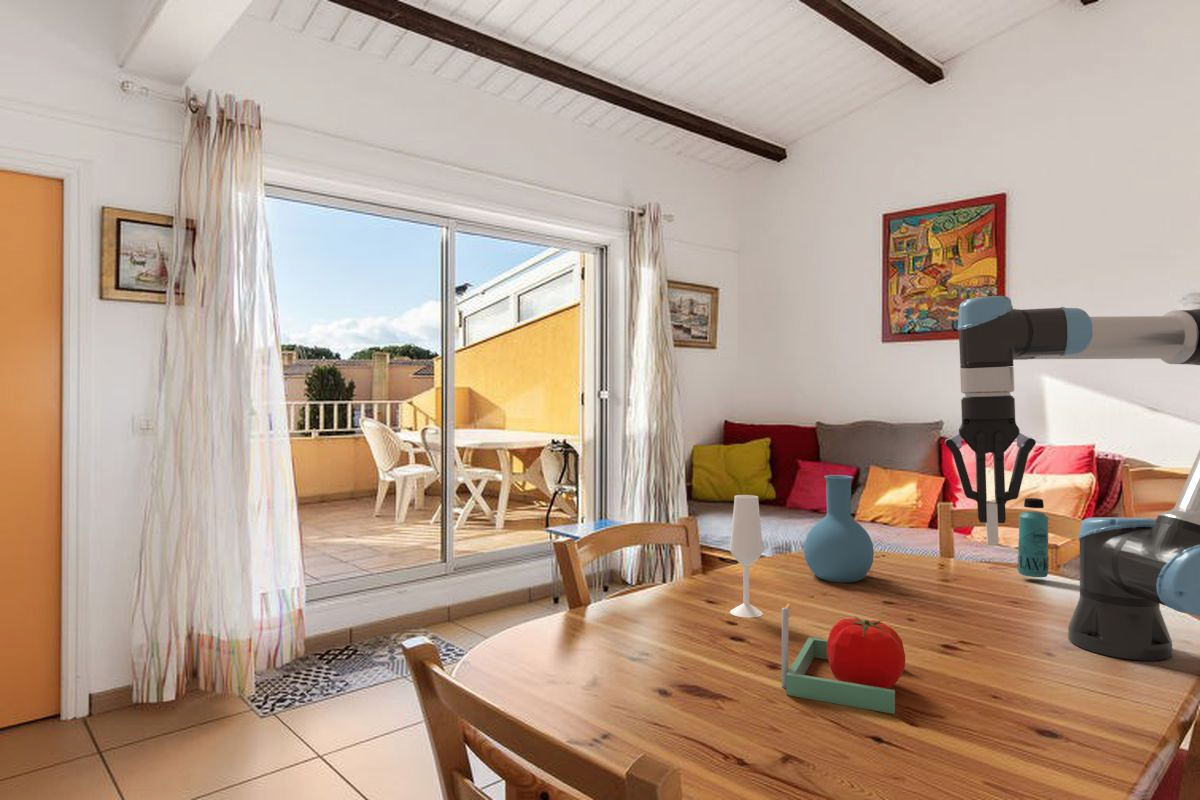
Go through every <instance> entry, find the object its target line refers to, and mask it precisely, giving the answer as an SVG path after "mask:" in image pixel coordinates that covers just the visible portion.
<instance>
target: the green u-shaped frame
mask: <svg viewBox="0 0 1200 800" xmlns="http://www.w3.org/2000/svg"><path fill="white" fill-rule="evenodd" d="M790 617H791V603H789V602H788V603H787V604H786V605H785V606H784V607H782V608H781V688H784V689H786V690H785V691H786V692H785V694H786V696H791V697H796V698H797V697H798V698H802V699H808V700H813V701H814V700H815V701H820V702H824V703H830V704H832V703H833V704H837V705H842V706H848V707H853V708H858V709H865V710H871V711H875V712H876V711H877V712H882V713H887V714H892V715H895V713H896V690H895V689H891V688H889V689H886V688H880V687H874V686H867V685H861V684H855V683H849V682H843V681H838V680H837V679H836V680H835V679H829V678H823V677H819V676H813V675H812V676H810V675H806V673H807V671H808V669H809V667H810V665H811V664H812V662H813V659H814V658H817V659H822V660H823V659H824V660H828V657H827V641H828V639H825V638H817V637H809V636H808V638H807V640H806V641H805V643H804V645H803V646H802V648H801V650H800V652H799V653H798V655H797V656H796V658H795V660H794V661H793V663H792V664H791V666H790V668H789V633H790V631H789V621H790V620H789V618H790Z"/></svg>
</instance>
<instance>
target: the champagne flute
mask: <svg viewBox="0 0 1200 800" xmlns="http://www.w3.org/2000/svg"><path fill="white" fill-rule="evenodd" d="M733 500H734V501H733V502H734V503H733V512H732V523H731V532H730V534H731V535H730V543H729V551H730V553H731V555H732V557H733V558H734V559H735V560H736V561H737V563H739V564H740V565H741V566H743V567H742V570H743V571H742V572H743V573H742V574H743V582H742V583H743V588H742V589H743V591H742V592H743V595H742V596H743V597H742V598H743V601H742V602H743V603H741V604H740V605H738V606H736V607H733V608H732V609H731V610H729V613H730V614H731V615H733V616H735V617H740V618H750V619H751V618H752V619H753V618H758V617H762V616H763V614H764V613H763V611H761V610H760V609H758V608H757V607H755V606H754V605H752V604H751V603H750V566H752V565H753V564H755V563H756V562H757V560H759V558H760V557H761V556H762V554H763V552H764V548H763V547H764V546H763V536H762V527H761V526H762V524H761V515H760V503H759V502H760V501H759V496H758V495H753V494H737V495H734V499H733Z"/></svg>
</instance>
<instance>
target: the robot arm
mask: <svg viewBox="0 0 1200 800" xmlns="http://www.w3.org/2000/svg"><path fill="white" fill-rule="evenodd" d="M957 321H958V322H957V323H958V324H957V331H958V338H959V339H958V340H959V341H958V342H959V365H960V369H959V371H960V372H959V373H960V374H959V375H960V392H961V394H964V396H963V397H962V398H961V399H960V400H961V401H960V404H961V406H960V407H961V408H960V409H961V425H960V427H959V429H958V433H956V434H954V436H952V437H950V438H946V439H945V440H944V444H945V446H946V447H947V448H948V450H949V451H950V452H951V453H952V456H953V460H954V463H955V467H956V471H957V473H958V477H959V480H960V484H961V486H962V489H963V492H964V496H965V497H966V498H967V499H970V500H973V501H975V502H976V504H977V508H976V509H977V519H978V521H979V523H981V524H982V523H983V524H985V541H986V544H987V545H989V546H999V545H1000V543H999V524H1005V522H1006V520H1007V519H1006V518H1007V517H1006V516H1007V515H1006V503H1007V502H1009V501H1012V500H1017V499H1018V497H1019V496H1020V495H1019V494H1020V490H1021V487H1022V484H1023V483H1022V482H1023V479H1024V474H1025V471H1026V466H1027V463H1028V458H1029V454H1030V452H1031V451H1032V450H1033V449H1034V447H1035V446H1036V442H1037V441H1036V440H1035V439H1034V438H1031V437H1028V436H1026V435H1025V434H1023V433H1021V431H1020V428H1019V426H1018V425H1017V422H1016V400H1015V397H1014V396H1013V395H1011V393H1014V392H1015V376H1014V374H1015V373H1014V370H1015V369H1014V361H1015V360H1017V361H1019V360H1020V361H1021V360H1023V361H1024V360H1115V359H1116V360H1118V359H1119V360H1134V359H1135V360H1138V359H1139V360H1144V359H1146V360H1148V359H1149V360H1151V359H1155V360H1156V359H1157V360H1159V359H1160V360H1161V361H1163V362H1164V363H1166V364H1169V365H1190V366H1191V365H1193V366H1200V308H1196V309H1195V308H1194V309H1185V310H1184V309H1183V310H1182V309H1181V310H1177V309H1176V310H1170V311H1168V312H1166V313H1165V314H1163V315H1162V316H1161V315H1155V316H1154V315H1150V316H1147V315H1146V316H1145V315H1140V316H1139V315H1138V316H1136V315H1135V316H1132V315H1131V316H1127V315H1126V316H1090V315H1089V313H1087V312H1086V311H1085V310H1084V309H1082V308H1078V307H1065V306H1060V307H1052V308H1051V307H1049V308H1047V307H1046V308H1031V309H1030V308H1028V309H1016V308H1014V306H1013V304H1012V300H1011V298H1010V297H1009V296H1005V295H990V296H978V297H973V298H969V299H965V300H963V301H962V302H961V303H960V304H959V306H958V320H957ZM962 440H964V443H966V444H967V446H968V447H969V448H970V449H971V450H972V451H973V452H974V455H975V475H976V476H975V477H976V478H975V479H976V481H975V482H976V491H975V490H973V487H972V484H971V481H970V477H969V474H968V471H967V468H966V464H965V461H964V457H963V454H962V452H961V450H960V449H961V448H962V446H963V444H962ZM1015 440H1017V442H1016V447H1017V448H1018V450H1017V452H1016V456H1015V461H1014V465H1013V469H1012V473H1011V476H1010V477H1011V478H1010V481H1009V485H1008V490H1007V491H1006V483H1005V482H1006V481H1005V477H1006V476H1005V452H1006V451H1008V449H1009V448H1010V447H1011V446H1012V444H1013V443H1014V441H1015ZM989 453H991V454H992V457H993V475H994V480H993V481H994V499H995V500H993V501H992V500H987V466H986V462H987V461H986V457H987V454H989ZM1180 491H1181V492H1180V494H1179V496H1178V499H1177V501H1176V503H1175V506H1174V507H1173V508H1172V509H1170V510H1167V511H1163V512H1161V513H1158V515H1157V517H1156V518H1148V517H1110V516H1109V517H1103V516H1102V517H1086V518H1084V519H1083V520H1082V521H1081V523H1080V528H1079V536H1078V541H1079V598H1078V601H1077V604H1076V606H1075V609H1074V611H1073V614H1072V617H1071V619H1070V620H1069V624H1068V630H1067V631H1068V632H1067V633H1068V634H1067V635H1068V636H1067V637H1068V638H1067V639H1068V640H1069V641H1070V643H1072V644H1074V645H1075V646H1077V647H1079V648H1082V649H1084V650H1087V651H1090V652H1093V653H1096V654H1099V655H1104V656H1109V657H1113V658H1118V659H1119V658H1120V659H1125V660H1133V661H1134V660H1135V661H1148V662H1149V661H1150V662H1151V661H1154V662H1155V661H1164V660H1167V659H1170V658H1172V656H1173V642H1172V641H1173V640H1172V638H1171V636H1170V633H1169V630H1168V627H1167V625H1166V622H1165V620H1164V616H1163V614H1162V612H1161V609H1160V605H1163V606H1166V607H1167V608H1170V609H1172V610H1174V611H1177V612H1179V613H1182V614H1183V613H1184V614H1190V615H1193V616H1196V617H1200V449H1199V450H1198V452H1197V455H1196V458H1195V459H1194V462H1193V464H1192V467H1191V468H1190V471H1189V473H1188V476H1187V478H1186V480H1185V483H1184V485H1183V487H1182V490H1180Z"/></svg>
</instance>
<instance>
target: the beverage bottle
mask: <svg viewBox="0 0 1200 800" xmlns="http://www.w3.org/2000/svg"><path fill="white" fill-rule="evenodd" d="M1023 506H1024V508H1029V509H1045V508H1044V506H1045V505H1044V500H1043V499H1041V498H1037V497H1029V498H1028V497H1027V498H1024V504H1023ZM1018 522H1019V523H1018V544H1017V548H1018V550H1017V551H1018V552H1017V571H1018V573H1019V575H1021V576H1025V577H1031V578H1047V577H1048V574H1050V573H1049V569H1050V567H1049V560H1050V559H1049V517H1048V516H1047V515H1046V514H1045V512H1041V511H1040V512H1039V511H1029V510H1027V511H1023V512H1022V513H1020V514H1019V515H1018Z"/></svg>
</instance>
